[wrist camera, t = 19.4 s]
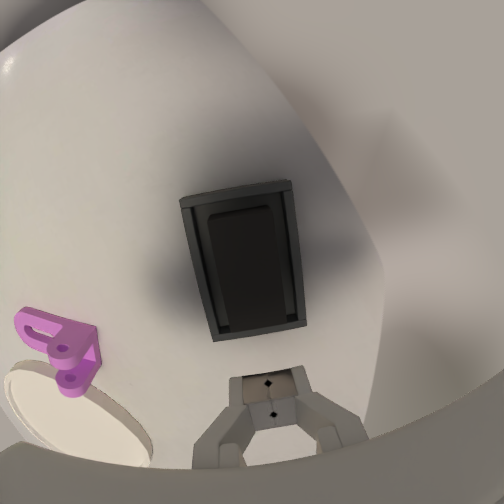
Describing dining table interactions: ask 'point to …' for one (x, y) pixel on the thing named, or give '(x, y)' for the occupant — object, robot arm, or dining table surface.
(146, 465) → the plate
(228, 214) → the black rectangular block
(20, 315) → the bracket
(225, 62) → the dining table surface
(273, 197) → the base tray
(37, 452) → the robot arm
